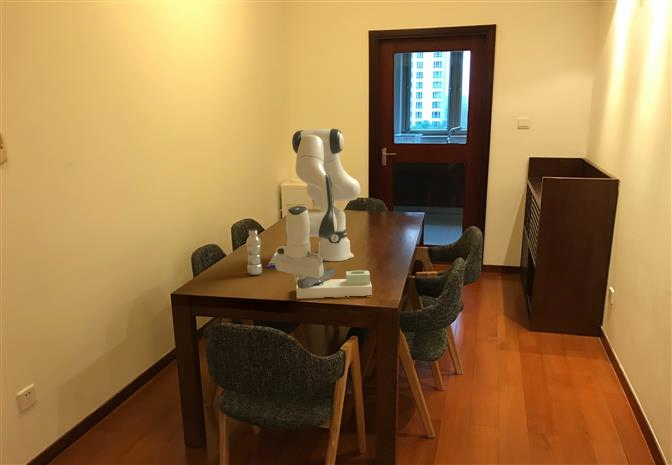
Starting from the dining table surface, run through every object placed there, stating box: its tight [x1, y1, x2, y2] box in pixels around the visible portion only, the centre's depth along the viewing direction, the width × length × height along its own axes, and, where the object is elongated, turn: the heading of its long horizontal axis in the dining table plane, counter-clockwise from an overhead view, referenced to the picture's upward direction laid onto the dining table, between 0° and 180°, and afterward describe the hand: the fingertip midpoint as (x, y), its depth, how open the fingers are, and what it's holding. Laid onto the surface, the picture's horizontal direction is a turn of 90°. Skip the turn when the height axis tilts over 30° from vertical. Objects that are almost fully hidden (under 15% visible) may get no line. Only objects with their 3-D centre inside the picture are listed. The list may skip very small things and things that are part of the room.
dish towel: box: [266, 251, 277, 269], centre depth 255 cm, size 17×24×3 cm
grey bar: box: [298, 266, 336, 289], centre depth 210 cm, size 3×20×4 cm, turn 143°
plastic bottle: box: [245, 228, 263, 276], centre depth 234 cm, size 6×7×20 cm
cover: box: [345, 269, 371, 285], centre depth 211 cm, size 5×9×5 cm, turn 93°
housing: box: [295, 278, 373, 300], centre depth 211 cm, size 10×29×4 cm, turn 93°
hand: (299, 285), depth 205 cm, fingers closed
